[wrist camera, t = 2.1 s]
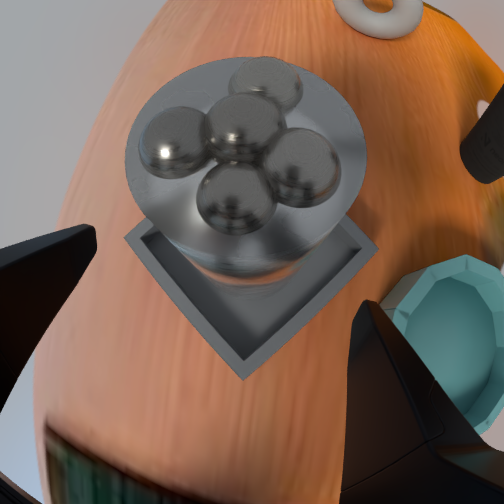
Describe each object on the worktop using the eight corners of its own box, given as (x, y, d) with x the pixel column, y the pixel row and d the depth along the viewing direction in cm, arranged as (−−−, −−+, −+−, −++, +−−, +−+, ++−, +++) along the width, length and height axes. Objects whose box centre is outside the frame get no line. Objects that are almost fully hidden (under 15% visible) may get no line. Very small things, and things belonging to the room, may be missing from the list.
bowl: (423, 464, 16) (445, 480, 12) (322, 362, 18) (336, 371, 15) (512, 342, 18) (539, 341, 14) (436, 233, 20) (461, 218, 17)
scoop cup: (246, 321, 18) (228, 318, 5) (179, 245, 19) (71, 119, 6) (321, 251, 19) (426, 129, 6) (253, 182, 20) (252, 11, 7)
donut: (323, 27, 26) (337, -44, 16) (327, 15, 26) (340, -51, 17) (407, 57, 25) (438, -7, 15) (406, 42, 26) (433, -17, 16)
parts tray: (244, 374, 18) (242, 380, 16) (135, 246, 20) (123, 237, 18) (366, 256, 20) (378, 249, 17) (255, 147, 22) (256, 130, 19)
